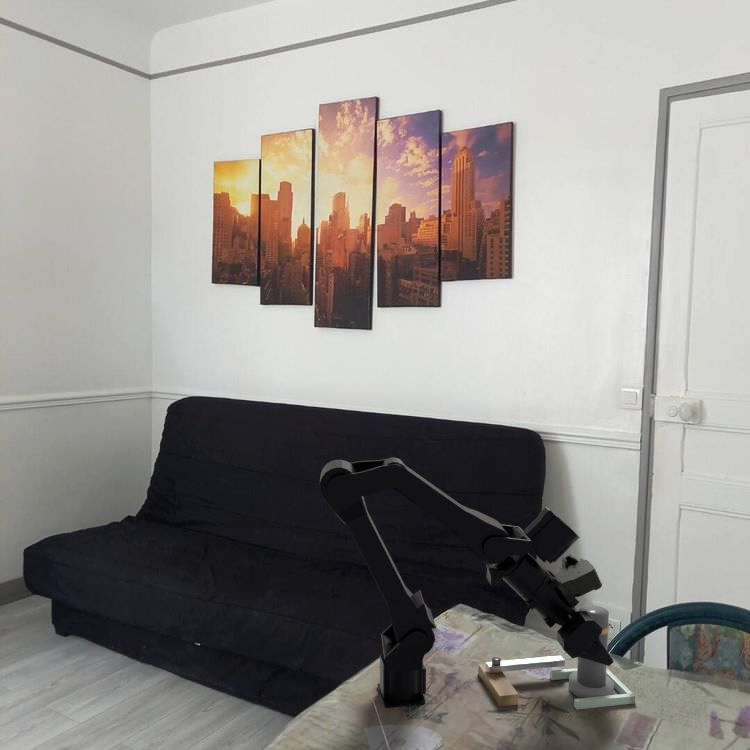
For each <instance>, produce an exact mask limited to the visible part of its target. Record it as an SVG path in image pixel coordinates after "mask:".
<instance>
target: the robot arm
mask: <svg viewBox="0 0 750 750" xmlns="http://www.w3.org/2000/svg"><path fill="white" fill-rule="evenodd" d="M320 473H321V474H320V478H319V486H318V487H319V492H320V495H321V497H322V499H323V500H324V501H325V502H326V504H327V506H328V507H329V508H330V509H331V510H332V512H333V513H334V514H335V515H336V516H337V518H338V519H340V520H341V522H343V524H344V525H345V526H346V527H347V529H348V531H349V533H350V536H351V538H352V540H353V542H355V543H354V544H355V545H356V547H357V549H358V552H359V553H360V555H361V557H362V559H363V561H364V563H365V565H366V566H367V569H368V571H369V573H370V574H371V576H372V579H373V580H374V583H375V584H376V586H377V588H378V591H379V592H380V594H381V596H382V598H383V600H384V602H385V604H386V607H387V611H388V616H389V617H390V622H391V624H389V626H387V627H386V628H385V630H383V632H381V634H380V635H381V643H382V650H383V653H381V654H379V682H378V683H377V690H378V693H379V695H380V699H381V701H382V703H383V707H384V708H386V709H387V708H398V707H399V708H400V707H405V706H406V707H408V706H415V705H416V706H418V705H425V704H426V702H427V701H426V697H425V695H426V693H427V668H426V666H425V665H424V661H423V660H424V657H425V655H427V654H428V653H430V651H432V649H433V648H434V644H435V642H436V636H435V633H434V630H436V629H437V626H436V623H435V620H434V616H433V613H432V610H431V608H429V607H428V606H427V604H426V603H425V601H424V598H423V595H422V591H421V589H420V590H419V589H418V591H416V592H414V594H413V593H412V591H411V590H410V589H408V587H407V586H406V585H405V583H404V580H403V578H402V577H401V575H400V573H399V571H398V569H397V566H396V565H395V563H394V561H393V559H392V557H391V555H390V553H389V551H388V549H387V547H386V545H385V543H384V541H383V538H381V535H380V534H379V532H378V529H377V527H376V525H375V523H374V521H373V518H372V517H371V516H370V513H369V512H368V508H367V503H366V502H365V497H366V496H369V495H372V494H375V493H378V492H382V491H384V490H390V489H393V490H394V491H396V492H398V493H399V494H401V495H402V496H403V497H405V498H406V499H408V500H409V501H410V502H412V503H413V504H414V505H416V506H417V507H420V509H421V510H423V511H425V512H426V513H428V514H429V515H430V516H432V517H433V518H435V519H436V520H438V521H439V522H440V523H442V524H443V525H445V526H446V527H448V528H449V529H451V531H452V532H453V533H454V534H455V535H456V536H457V537H458V538H459V539H460V540H461V541H462V542H463V543H464V544H465V546H466V547H467V548H468V549H469V550H470V551H471V552H472V553H473V554H474V555H475V556H476V557H477V558H478V559H479V560H480V561H481V562H483V563H485V567H486V575H485V576H486V577H485V578H486V579H487V581H488V582H489V585H490V586H491V587H495V586H496V585H497V584H498V583H499V582H501V580H503V581H504V582H505V583H506V584H507V585H508V586H509V587H511V588H512V590H514V592H515V593H516V594H518V595H519V597H520V598H522V600H524V602H525V604H526V605H527V607H528V608H530V609H531V611H533V610H534V611H535V612H536V613H537V614H538V615H539V616H540V617H541V618H542V620H543V621H544V623H545V624H546V625H547V626H548V627H549V628H550V629H551V628H553V627H554V626H555V624H556V625H559V626H561V627H560V628H559V629H557V631H556V640H557V642H558V643H559V645H560V646H561V648H562V650H563V651H564V652H565V653H566V654H567V655H568V656H569V657H570V658H571V659H575V658H577V659H578V657H580V658H584V659H588V660H591V661H594V662H598V663H601V664H604V665H607V667H610V666H611V665H612V664H613V663H614V661H615V660H614V659H613V658H612V656H611V655H610V653H609V652H608V649H607V650H606V649H605V647H604V646H603V644H602V642H601V641H600V639H599V636H600V635H601V633H602V630H603V629H602V627H601V626H600V625H599V624H598V622H597V621H596V620H595V619H594V618H593V617H592V616H591V615H590V614H589V613H588V612H587V611H579V610H577V609H576V608H575V607H577V605H578V604H579V603H580V600H579V599H578V598H579V597H582V596H584V595H586V594H588V593H591V592H593V591H598V590H600V589H601V588H602V586H603V583H602V581H601V579H600V577H599V574H598V572H597V571H596V567H595V566H594V565H593V564H592V563H591V562H590V561H589V560H588V559H584V558H583V557H581V558H580V559H578V558H576V557H575V556H573V555H572V553H569V554H567V555H564V554H565V553H566V552H567V551H568V550H569V549H570V548H572V546H573V545H574V544H575V543H576V542H577V541H578V540H579V539H580V536H579V535H578V534H577V532H576V531H574V530H573V529H572V528H571V527H570V526H569V525H568V524H567V523H566V522H564V521H563V520H562V519H561V518H560V517H559V516H557V515H556V514H555V513H554V512H553V511H552V510H551V509H549V507H548V506H545V507H544V508H543V509H542V510H541V511H540V512H539V513H538V515H537V517H536V518H535V519H534V520H533V521H531V523H530V524H529V525H528V526H527V527H525V528H524V529H522V528H521V527H520V526H517V525H511V524H502V523H500V522H499V521H498V520H497V519H495V518H493V517H492V516H488V515H487V514H484V513H482V512H480V511H478V510H475V509H472V508H469V507H467V506H464V505H462V504H461V503H459V502H458V501H456V500H455V499H454V498H452V497H451V496H450V495H448V494H446V493H445V492H444V491H442V490H441V489H439V488H438V487H436V486H435V485H434V484H432V483H431V482H430V481H428V480H427V479H425V477H422V476H421V475H420V474H418V473H417V472H415V471H414V470H413V469H412V468H410V467H408V466H407V465H406V464H405V463H404V462H403V461H402V460H401V459H400V458H397V457H388V458H385V459H383V458H382V459H376V460H375V459H372V460H358V461H353V462H349V461H348V460H343V459H334V460H331V461H329V462H328V463H326V464H325V466H324V467H322V469H321V472H320ZM530 551H531V552H533V553H534V555H536V556H537V557H538V558H539V559H540V561H542V562H543V563H544V564H545V563H546V562H548V563H549V564H550V565H551V564H553V563H554V564H555V563H556V562H557V561H558V560H559V559H560V558H561V559H562V560H561V567H560V568H559V570H560V571H558V572H557V573H555V574H554V573H553V571H551V570H550V569H547V568H544V566H542V565H541V563H540V562H538V561H537V560H536V558H534V557H533V556H532V555H531V554H530V553H529V552H530ZM563 555H564V556H563ZM562 556H563V557H562Z"/></svg>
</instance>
